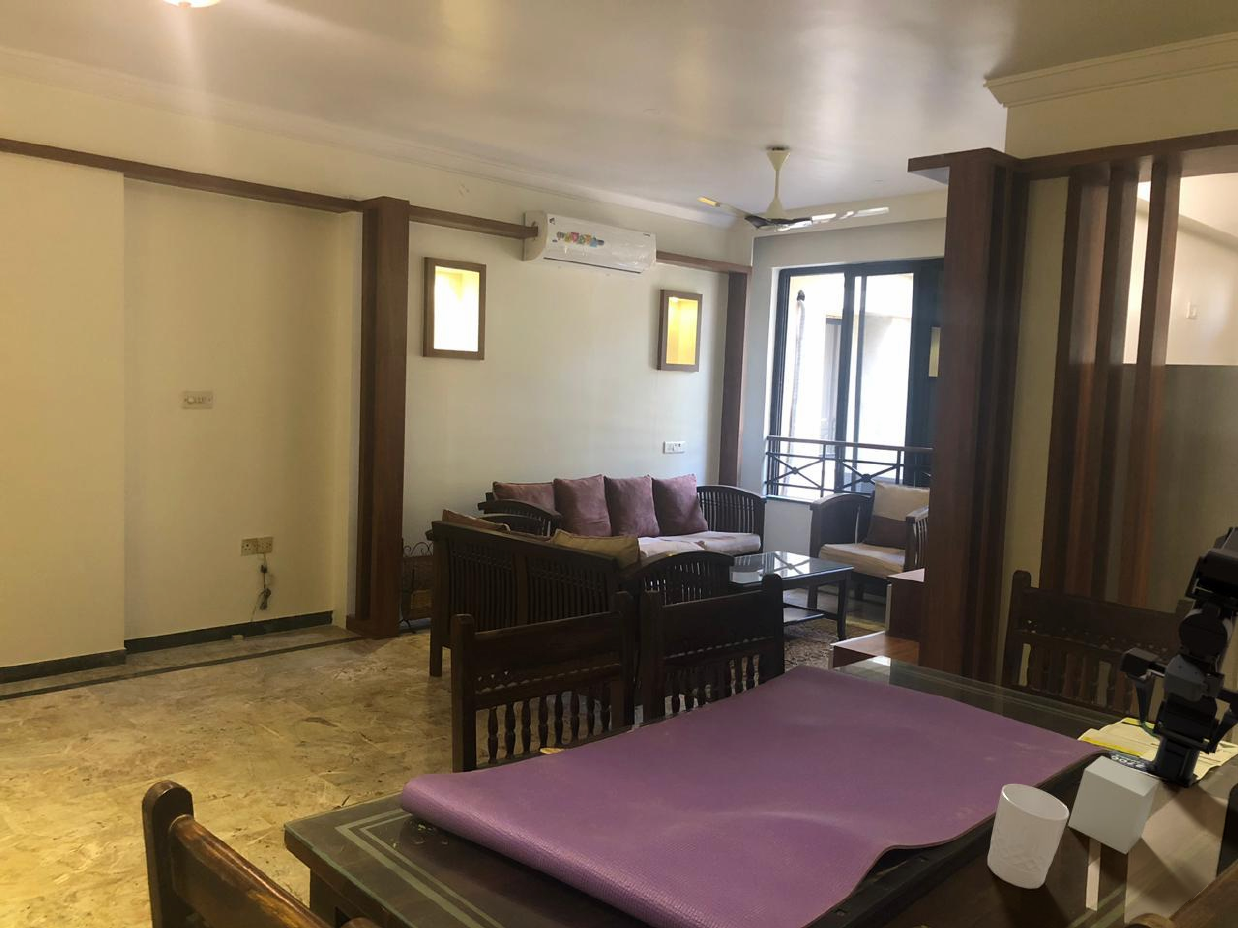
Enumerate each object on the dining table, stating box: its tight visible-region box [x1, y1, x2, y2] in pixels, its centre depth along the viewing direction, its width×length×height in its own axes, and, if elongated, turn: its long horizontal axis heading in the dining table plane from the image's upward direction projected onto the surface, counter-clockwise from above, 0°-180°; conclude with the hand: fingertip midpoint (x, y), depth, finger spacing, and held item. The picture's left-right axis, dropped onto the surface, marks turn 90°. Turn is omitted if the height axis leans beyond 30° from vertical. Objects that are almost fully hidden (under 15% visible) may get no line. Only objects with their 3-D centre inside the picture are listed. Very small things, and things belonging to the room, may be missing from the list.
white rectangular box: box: [1067, 755, 1160, 855], centre depth 133 cm, size 8×8×9 cm
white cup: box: [987, 783, 1070, 889], centre depth 118 cm, size 8×8×10 cm
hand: (1175, 736), depth 140 cm, fingers open, 9 cm apart
